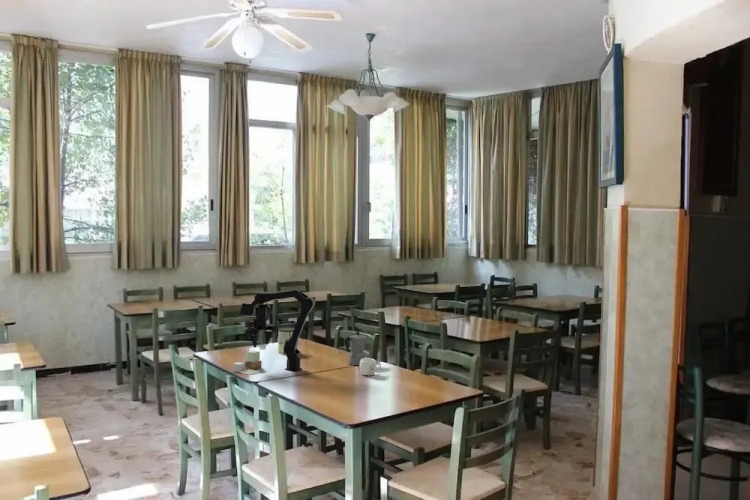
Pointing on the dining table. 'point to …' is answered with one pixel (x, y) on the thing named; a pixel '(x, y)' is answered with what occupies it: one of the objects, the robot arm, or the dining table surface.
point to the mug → (368, 366)
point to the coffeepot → (356, 348)
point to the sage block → (253, 356)
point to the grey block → (238, 367)
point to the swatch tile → (249, 372)
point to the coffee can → (283, 337)
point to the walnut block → (253, 365)
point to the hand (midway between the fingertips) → (260, 346)
